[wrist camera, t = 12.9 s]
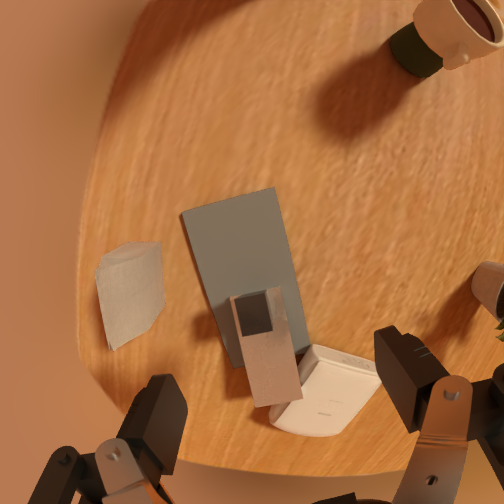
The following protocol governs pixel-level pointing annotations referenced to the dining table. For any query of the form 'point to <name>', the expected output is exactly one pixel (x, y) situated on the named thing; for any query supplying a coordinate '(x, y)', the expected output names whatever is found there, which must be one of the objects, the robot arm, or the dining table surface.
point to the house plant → (490, 290)
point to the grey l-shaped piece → (267, 346)
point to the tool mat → (245, 261)
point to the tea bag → (130, 290)
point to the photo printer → (327, 393)
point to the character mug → (447, 35)
